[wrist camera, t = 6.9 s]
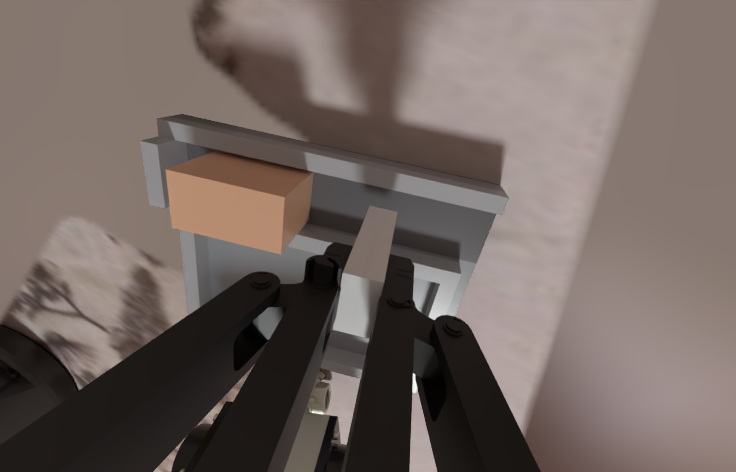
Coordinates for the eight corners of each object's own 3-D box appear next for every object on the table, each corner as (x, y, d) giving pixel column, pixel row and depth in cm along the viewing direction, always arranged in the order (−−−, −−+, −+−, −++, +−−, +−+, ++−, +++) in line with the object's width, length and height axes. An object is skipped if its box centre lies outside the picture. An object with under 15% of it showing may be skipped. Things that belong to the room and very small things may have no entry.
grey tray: (198, 309, 28) (169, 339, 25) (182, 114, 20) (137, 121, 17) (428, 369, 27) (428, 409, 23) (500, 185, 19) (515, 207, 16)
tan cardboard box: (220, 198, 21) (172, 227, 17) (218, 149, 20) (165, 169, 16) (308, 219, 21) (281, 254, 17) (313, 171, 19) (284, 197, 15)
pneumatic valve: (240, 352, 29) (135, 509, 19) (367, 366, 28) (331, 549, 17) (251, 394, 32) (164, 553, 21) (369, 409, 30) (338, 592, 20)
